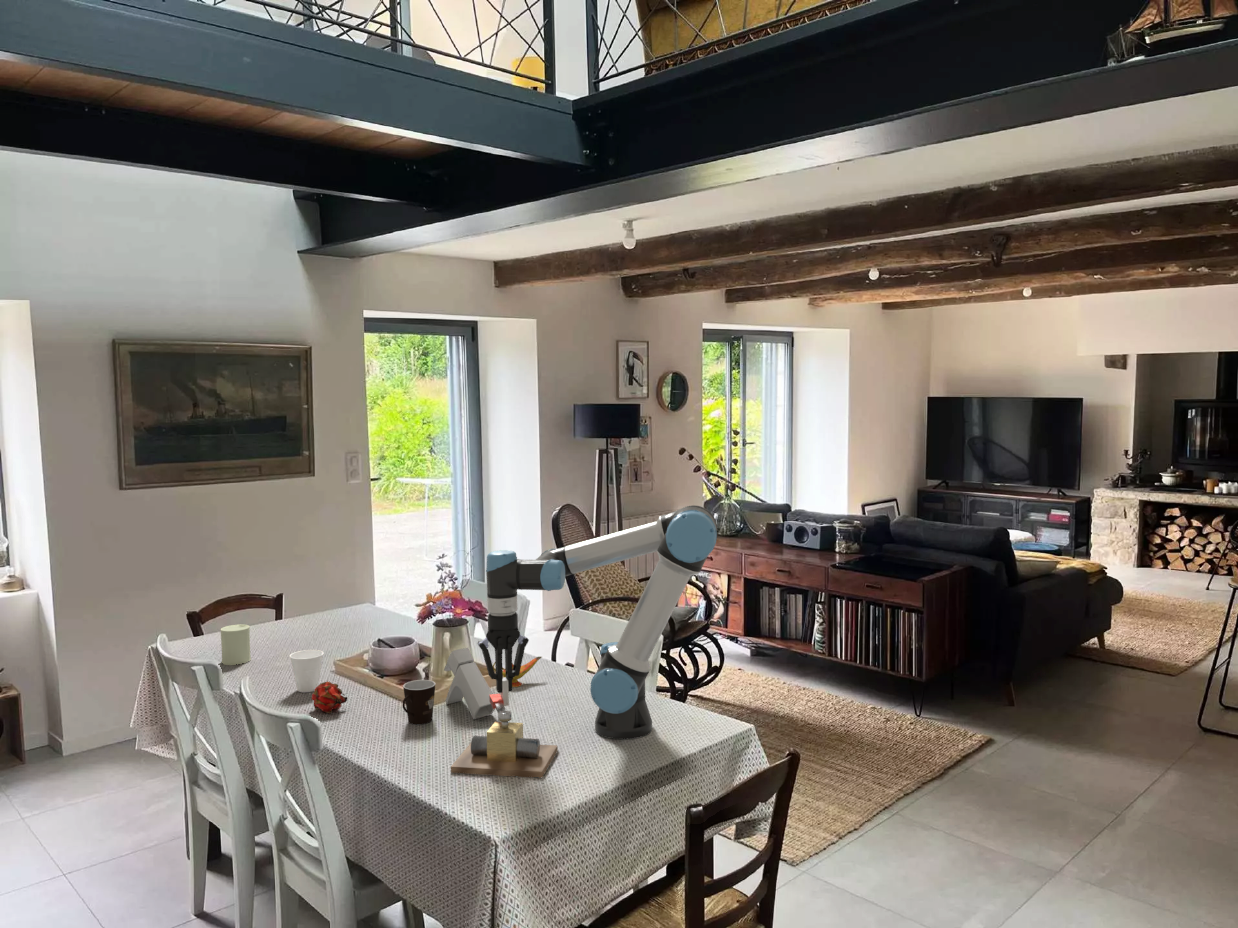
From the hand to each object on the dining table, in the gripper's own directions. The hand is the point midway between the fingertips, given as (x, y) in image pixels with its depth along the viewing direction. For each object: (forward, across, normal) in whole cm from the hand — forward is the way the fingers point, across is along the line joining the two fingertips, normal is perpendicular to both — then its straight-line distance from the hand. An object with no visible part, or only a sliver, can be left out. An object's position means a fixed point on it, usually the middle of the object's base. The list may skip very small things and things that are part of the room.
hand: (504, 704), depth 231 cm
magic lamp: (+11, +16, +47) cm, 50 cm away
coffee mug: (+11, -19, +25) cm, 33 cm away
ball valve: (+9, -3, -11) cm, 14 cm away
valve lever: (0, -2, -5) cm, 5 cm away
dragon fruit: (+11, -40, +44) cm, 61 cm away
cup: (+10, -45, +66) cm, 80 cm away
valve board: (+10, -3, -11) cm, 15 cm away
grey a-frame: (+11, -3, +28) cm, 31 cm away
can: (+10, -66, +107) cm, 126 cm away
